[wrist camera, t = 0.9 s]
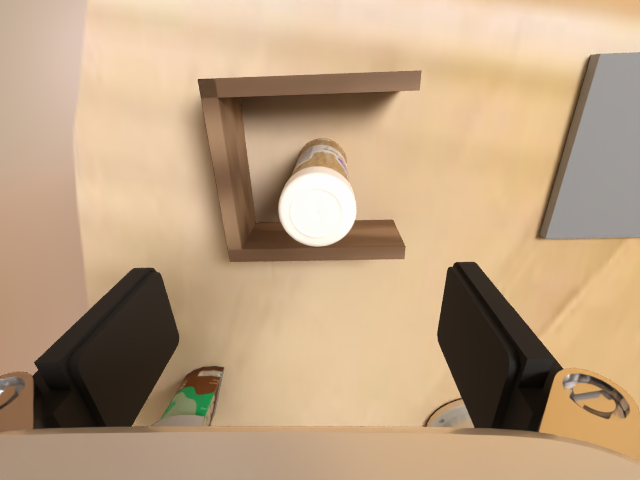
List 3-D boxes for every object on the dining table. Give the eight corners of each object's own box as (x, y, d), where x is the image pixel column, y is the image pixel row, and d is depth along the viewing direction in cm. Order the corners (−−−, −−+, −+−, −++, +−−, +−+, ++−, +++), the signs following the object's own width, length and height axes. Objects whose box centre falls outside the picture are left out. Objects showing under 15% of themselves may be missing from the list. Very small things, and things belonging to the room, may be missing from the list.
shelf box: (392, 230, 33) (404, 259, 28) (245, 233, 34) (230, 261, 28) (403, 73, 27) (421, 70, 22) (223, 80, 28) (197, 79, 22)
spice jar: (356, 161, 30) (374, 213, 18) (322, 195, 32) (318, 263, 20) (321, 125, 29) (315, 155, 17) (287, 162, 30) (260, 213, 18)
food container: (178, 348, 41) (135, 423, 32) (226, 359, 42) (197, 435, 33) (171, 410, 46) (133, 489, 37) (213, 419, 47) (186, 498, 38)
